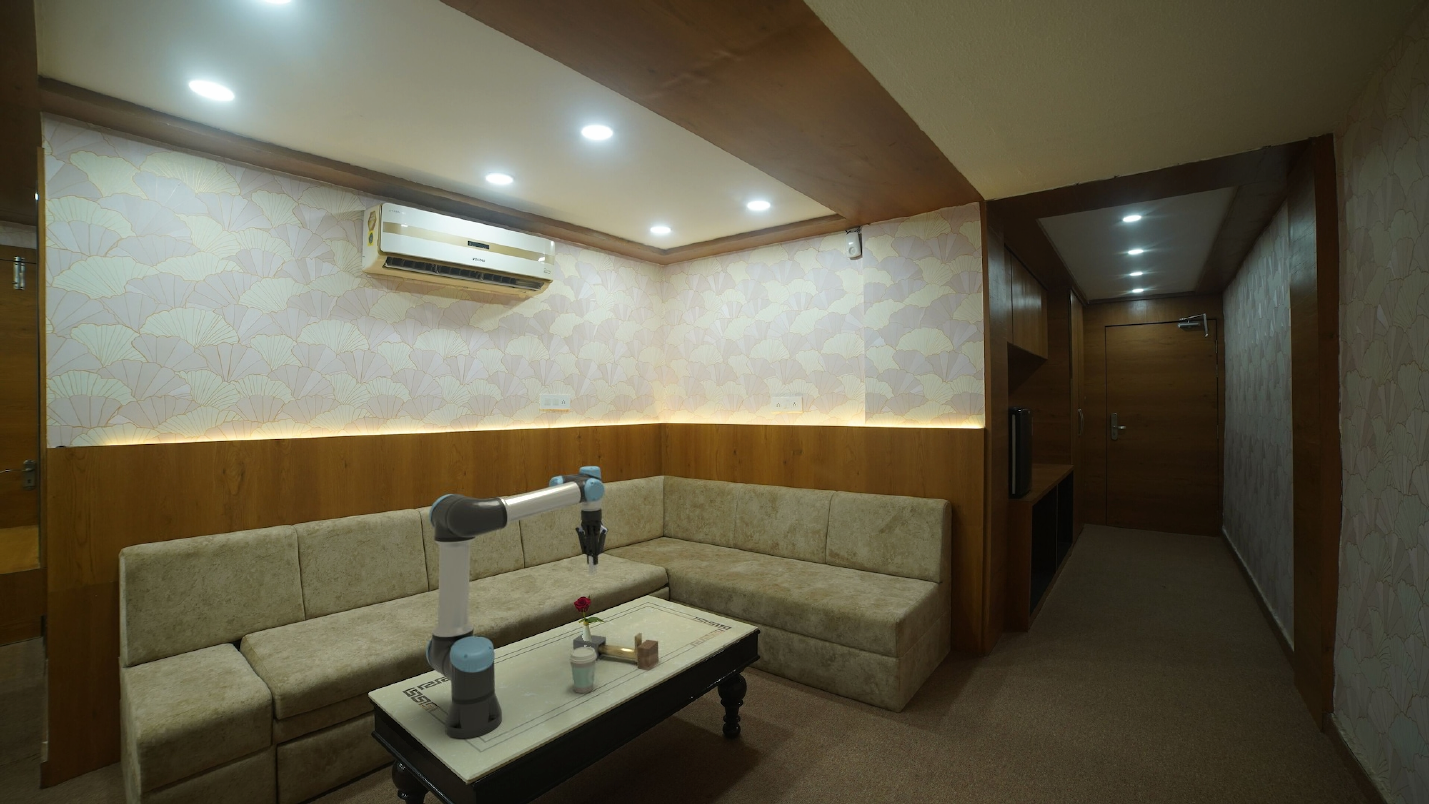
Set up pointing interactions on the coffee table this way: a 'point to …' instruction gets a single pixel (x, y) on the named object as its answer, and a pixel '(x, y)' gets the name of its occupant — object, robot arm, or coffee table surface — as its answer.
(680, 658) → the coffee table surface
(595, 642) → the sleeve
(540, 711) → the coffee table surface
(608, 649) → the tube
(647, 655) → the brown wooden block
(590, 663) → the coffee cup
